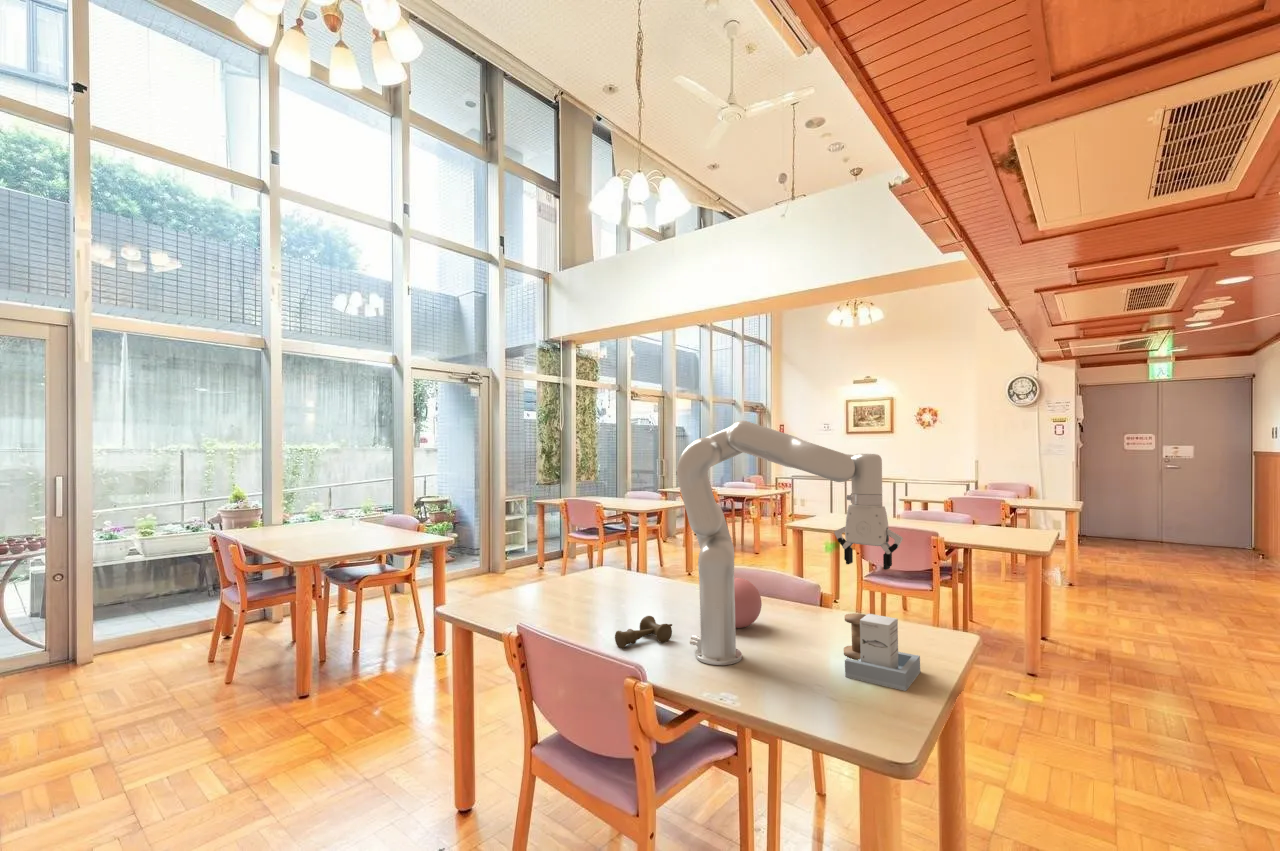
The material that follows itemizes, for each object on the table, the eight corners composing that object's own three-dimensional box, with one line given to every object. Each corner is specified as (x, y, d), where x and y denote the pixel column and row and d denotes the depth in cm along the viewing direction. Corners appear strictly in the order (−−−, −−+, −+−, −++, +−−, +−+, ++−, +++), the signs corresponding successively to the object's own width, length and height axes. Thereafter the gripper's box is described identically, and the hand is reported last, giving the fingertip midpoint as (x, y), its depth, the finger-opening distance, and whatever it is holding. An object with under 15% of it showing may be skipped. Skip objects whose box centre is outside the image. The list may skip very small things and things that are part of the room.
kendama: (609, 645, 168) (662, 630, 180) (628, 655, 160) (682, 639, 172) (608, 625, 168) (662, 611, 180) (627, 634, 160) (682, 619, 172)
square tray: (845, 676, 141) (844, 660, 141) (863, 659, 152) (862, 644, 152) (905, 691, 132) (905, 673, 132) (920, 672, 143) (919, 655, 143)
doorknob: (839, 656, 155) (838, 618, 155) (849, 647, 161) (848, 611, 162) (869, 662, 150) (868, 623, 150) (878, 653, 156) (877, 616, 157)
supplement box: (859, 670, 142) (858, 619, 143) (869, 661, 148) (868, 612, 148) (891, 677, 137) (889, 624, 138) (899, 668, 143) (898, 617, 144)
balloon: (727, 613, 196) (726, 568, 197) (772, 628, 180) (771, 578, 180) (693, 622, 187) (692, 575, 188) (737, 638, 171) (736, 586, 171)
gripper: (829, 499, 153) (829, 563, 152) (897, 503, 142) (898, 573, 141) (839, 497, 159) (840, 559, 158) (906, 501, 147) (907, 568, 147)
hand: (867, 566), depth 149 cm, fingers open, 9 cm apart
